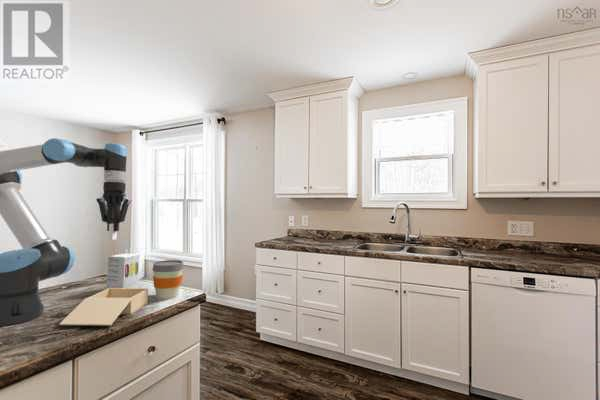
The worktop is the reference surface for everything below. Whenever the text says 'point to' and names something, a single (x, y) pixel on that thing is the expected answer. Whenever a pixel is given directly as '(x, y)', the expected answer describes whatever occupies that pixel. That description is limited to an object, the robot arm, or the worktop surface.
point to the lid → (96, 311)
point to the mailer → (137, 297)
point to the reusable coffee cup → (167, 278)
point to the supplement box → (123, 271)
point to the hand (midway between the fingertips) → (112, 239)
